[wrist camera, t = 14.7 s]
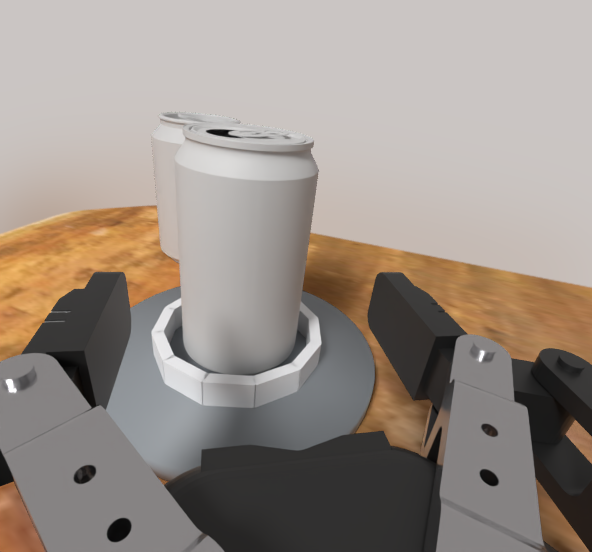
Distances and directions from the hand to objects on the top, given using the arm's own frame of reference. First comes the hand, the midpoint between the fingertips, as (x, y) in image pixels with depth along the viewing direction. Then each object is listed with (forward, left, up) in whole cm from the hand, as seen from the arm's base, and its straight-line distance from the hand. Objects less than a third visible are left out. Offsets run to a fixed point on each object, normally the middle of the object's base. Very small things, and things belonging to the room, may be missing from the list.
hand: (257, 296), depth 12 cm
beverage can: (+4, -5, -8) cm, 11 cm away
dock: (+4, -5, -9) cm, 11 cm away
